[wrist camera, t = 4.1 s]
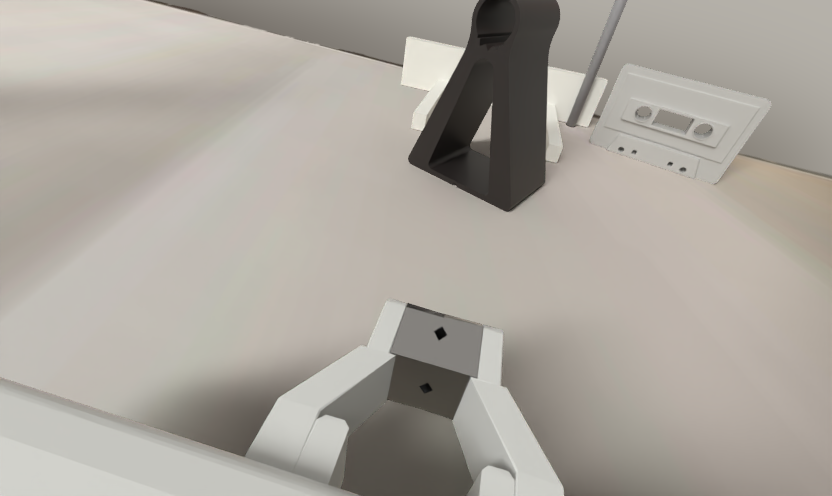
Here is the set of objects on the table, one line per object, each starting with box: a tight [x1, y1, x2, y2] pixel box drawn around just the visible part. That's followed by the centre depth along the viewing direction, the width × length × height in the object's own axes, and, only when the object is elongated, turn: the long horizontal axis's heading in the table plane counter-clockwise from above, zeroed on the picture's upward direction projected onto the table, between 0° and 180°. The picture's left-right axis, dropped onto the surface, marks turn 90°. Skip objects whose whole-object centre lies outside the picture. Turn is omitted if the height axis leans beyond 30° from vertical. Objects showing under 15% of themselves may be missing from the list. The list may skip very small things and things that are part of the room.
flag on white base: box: [401, 0, 627, 163], centre depth 34 cm, size 25×14×20 cm, turn 77°
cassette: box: [590, 64, 772, 184], centre depth 36 cm, size 12×2×8 cm, turn 59°
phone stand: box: [408, 0, 560, 211], centre depth 26 cm, size 9×6×12 cm, turn 51°
